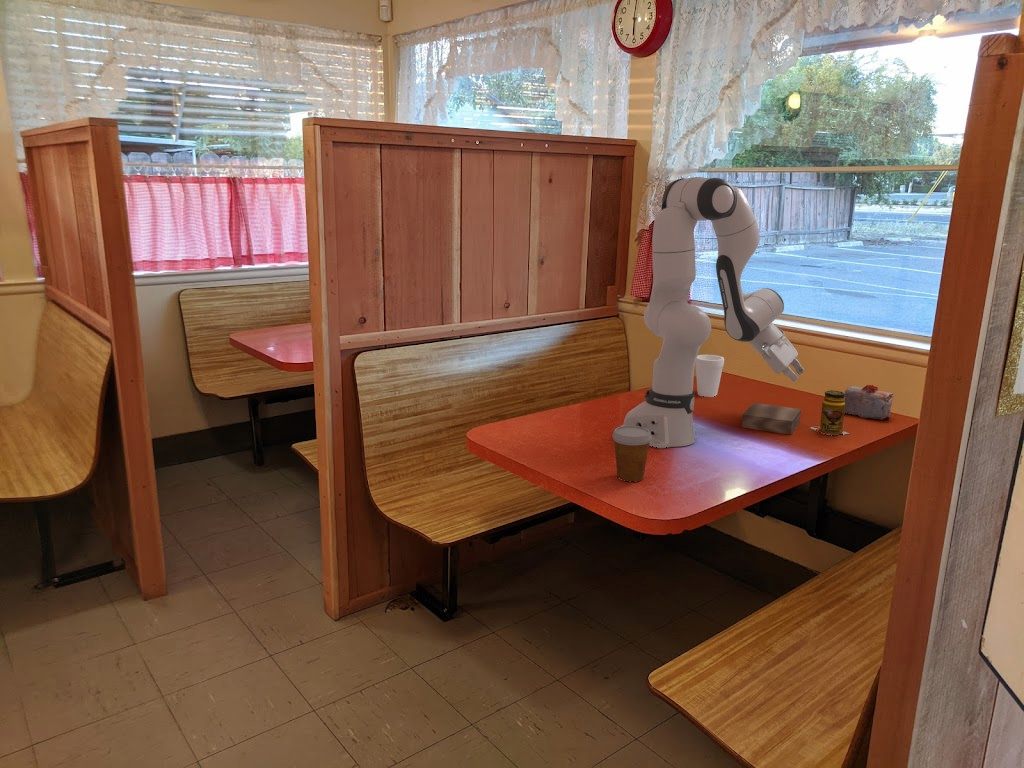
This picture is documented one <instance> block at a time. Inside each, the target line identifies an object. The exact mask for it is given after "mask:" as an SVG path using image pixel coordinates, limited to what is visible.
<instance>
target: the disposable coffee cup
mask: <svg viewBox="0 0 1024 768" xmlns="http://www.w3.org/2000/svg"><path fill="white" fill-rule="evenodd" d="M620 426H621V427H620ZM620 426H617V427H616V428H614V431H613V433H612V435H611V437H612V439H613V443H614V444H613V445H614V453H615V465H616V476H618V477H617V479H618V478H620V479H622V480H625V481H634V482H633V483H636V482H635V481H639V482H641V481H643V480H644V475H645V471H646V470H645V469H646V465H647V460H648V454H649V447H650V446H649V443H650V441H651V439H652V436H651V434H650V431H649V430H648V429H646V428H643V427H639V426H622V425H620ZM620 479H619V480H620ZM642 479H643V480H642ZM622 480H621V481H622ZM640 480H641V481H640ZM625 481H624V482H625Z"/></svg>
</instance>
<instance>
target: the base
mask: <svg viewBox="0 0 1024 768" xmlns="http://www.w3.org/2000/svg"><path fill="white" fill-rule="evenodd" d="M801 412H802V409H801V408H793V407H787V406H779V405H772V404H764V403H759V402H758V403H756V402H753V403H752V404H751V405H750V406H749V407H747V409H746V410H745V411H744V412H743V413H742V417H741V419H742V420H741V428H744V429H751V430H756V431H757V430H758V431H764V432H770V433H776V434H785V435H790V436H791V435H792V434H793V433H794V431H795V429H796V428H797V427H798V426H799V424H800V422H801Z"/></svg>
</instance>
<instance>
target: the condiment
mask: <svg viewBox="0 0 1024 768" xmlns="http://www.w3.org/2000/svg"><path fill="white" fill-rule="evenodd" d="M844 400H845V392H843V391H840V390H833V389H832V390H831V389H830V390H827V391H825V392H824V400H822V403H821V405H822V406H821V414H820V423H819V424H820V425H819V426H817V427H818V428H820V432H822V433H825V434H830V435H831V436H830V437H833V436H832V435H838V436H840V435H839V434H842V433H843V436H845V435H849V434H850V433H849V432H846V431H845V430H844V431H843V429H844V419H845V413H844V412H845V402H844ZM814 427H815V426H812V427H809V429H812V430H814V431H816V429H818V428H814ZM842 431H843V432H842ZM822 433H821V434H822Z"/></svg>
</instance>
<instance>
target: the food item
mask: <svg viewBox="0 0 1024 768" xmlns="http://www.w3.org/2000/svg"><path fill="white" fill-rule="evenodd" d="M844 394H845V397H844V399H845V400H844V402H845V412H844V414H845V413H846V415H851V414H852V416H856V415H858V416H857V417H860V418H861V417H864V418H865V419H869V418H870V419H874V420H878V419H879V420H885V419H887V418H889V417H890V416H891V414H892V413H891V411H892V410H891V409H892V405H893V400H894V396H895V393H893V392H888V391H882V390H879V387H877V386H875V385H873V384H869V385H868V384H867V385H865V386H861V387H859V386H855V385H854V386H853V385H852V386H851V385H849V387H847V388H846V389H845V390H844ZM847 413H848V414H847ZM864 418H863V419H864Z"/></svg>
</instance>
